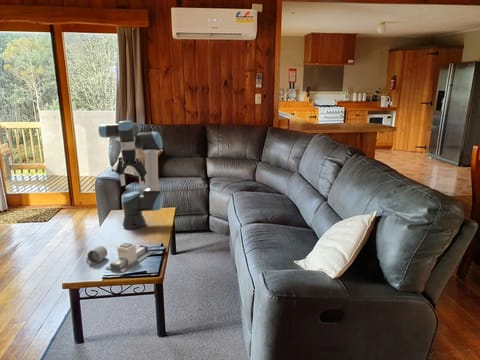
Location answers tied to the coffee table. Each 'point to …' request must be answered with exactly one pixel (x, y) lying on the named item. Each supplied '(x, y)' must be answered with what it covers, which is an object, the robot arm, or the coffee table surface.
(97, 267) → the coffee table surface
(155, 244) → the coffee table surface
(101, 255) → the ceramic mug
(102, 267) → the coffee table surface
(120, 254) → the module
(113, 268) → the rail base
